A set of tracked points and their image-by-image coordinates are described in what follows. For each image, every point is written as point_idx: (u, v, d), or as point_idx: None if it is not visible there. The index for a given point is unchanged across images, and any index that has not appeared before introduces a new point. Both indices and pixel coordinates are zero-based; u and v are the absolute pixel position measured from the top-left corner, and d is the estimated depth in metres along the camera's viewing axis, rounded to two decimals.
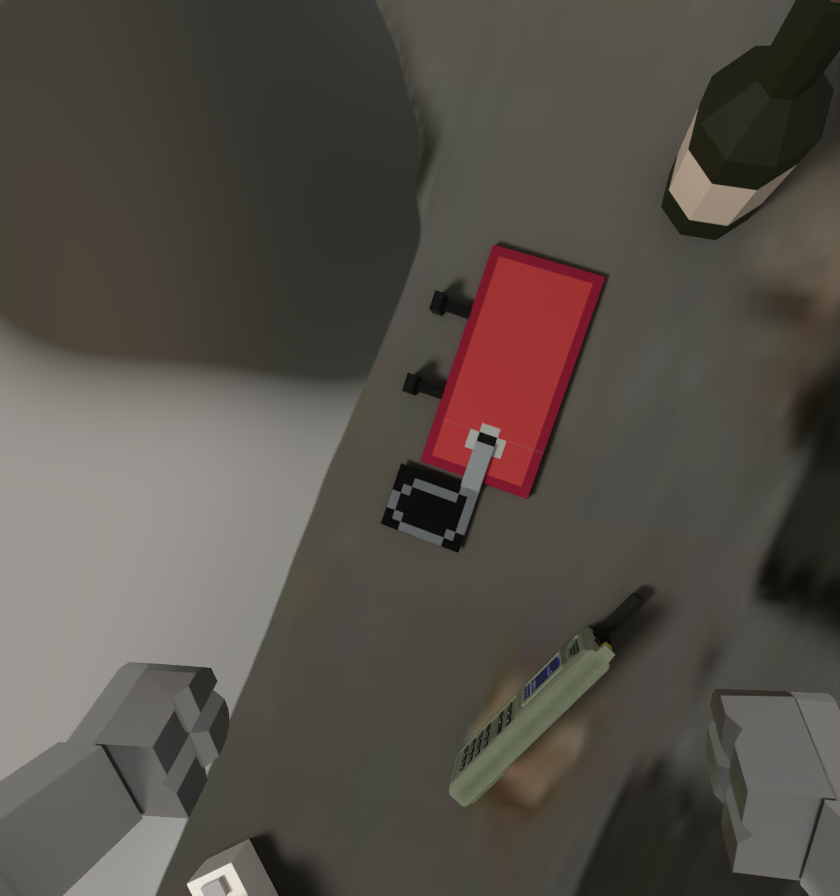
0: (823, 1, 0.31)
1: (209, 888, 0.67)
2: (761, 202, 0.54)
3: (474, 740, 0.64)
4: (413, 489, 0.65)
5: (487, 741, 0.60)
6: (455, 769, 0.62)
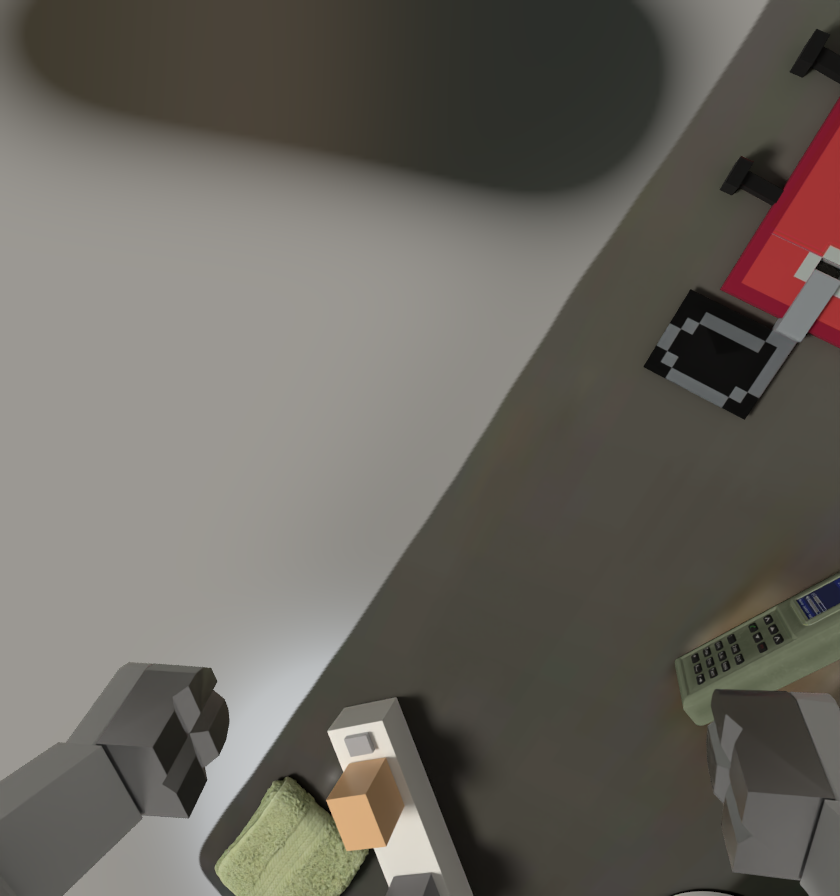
0: None
1: (354, 741, 0.60)
2: None
3: (708, 649, 0.52)
4: (700, 327, 0.48)
5: (741, 657, 0.48)
6: (684, 679, 0.51)
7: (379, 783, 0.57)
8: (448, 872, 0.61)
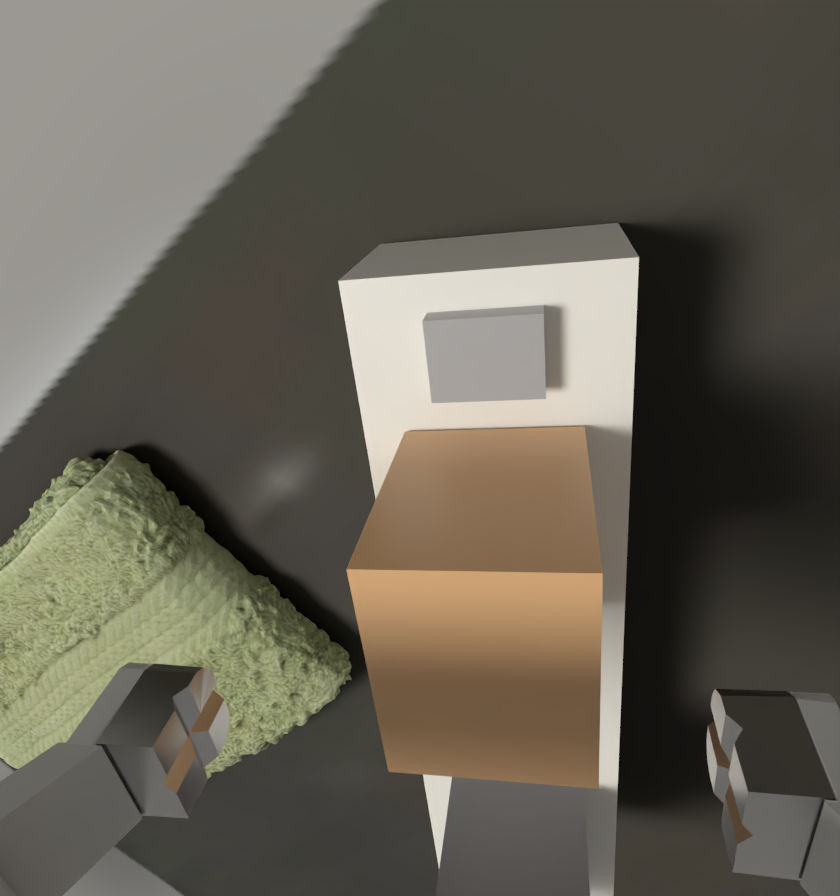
0: None
1: (473, 337, 0.13)
2: None
3: None
4: None
5: None
6: None
7: None
8: None
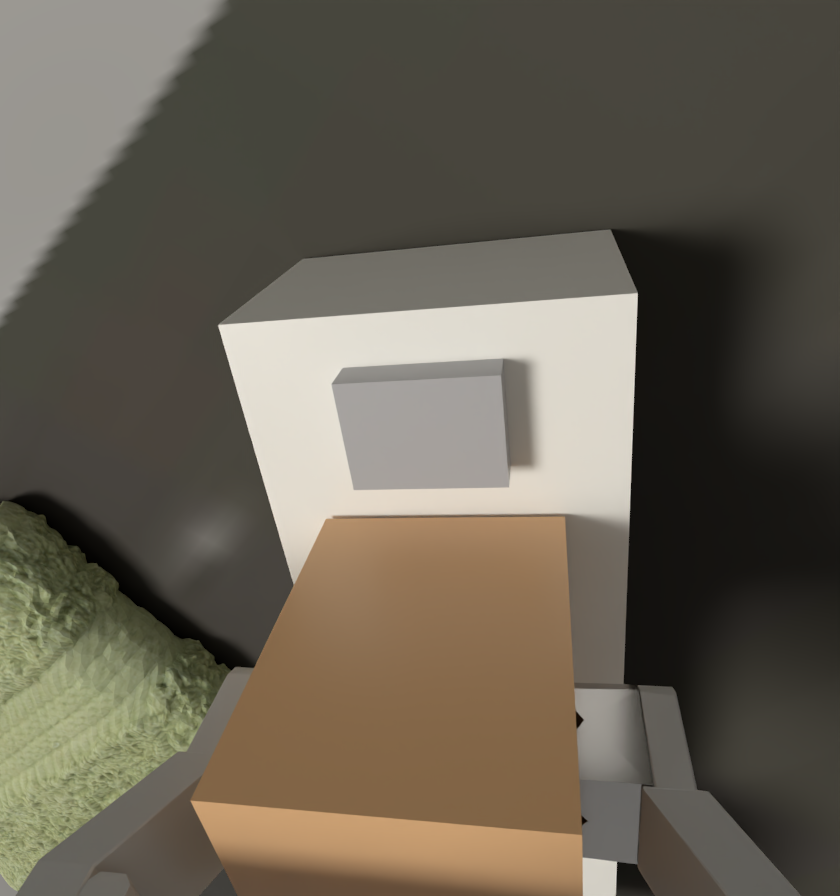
0: None
1: (403, 406, 0.09)
2: None
3: None
4: None
5: None
6: None
7: None
8: None
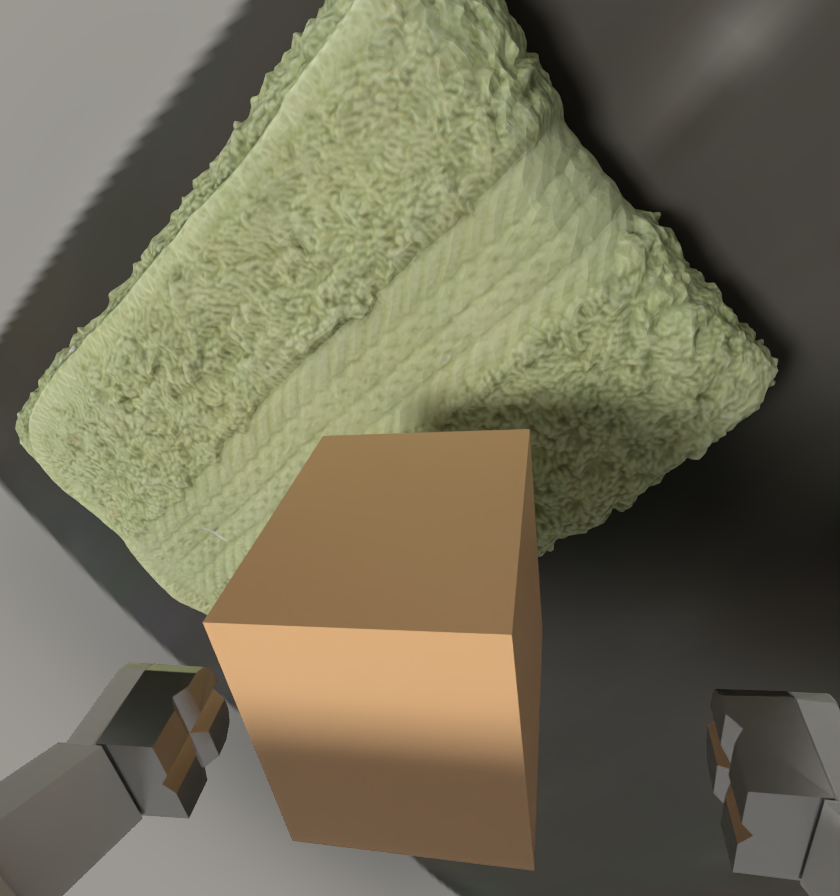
0: None
1: None
2: None
3: None
4: None
5: None
6: None
7: (526, 553, 0.10)
8: None
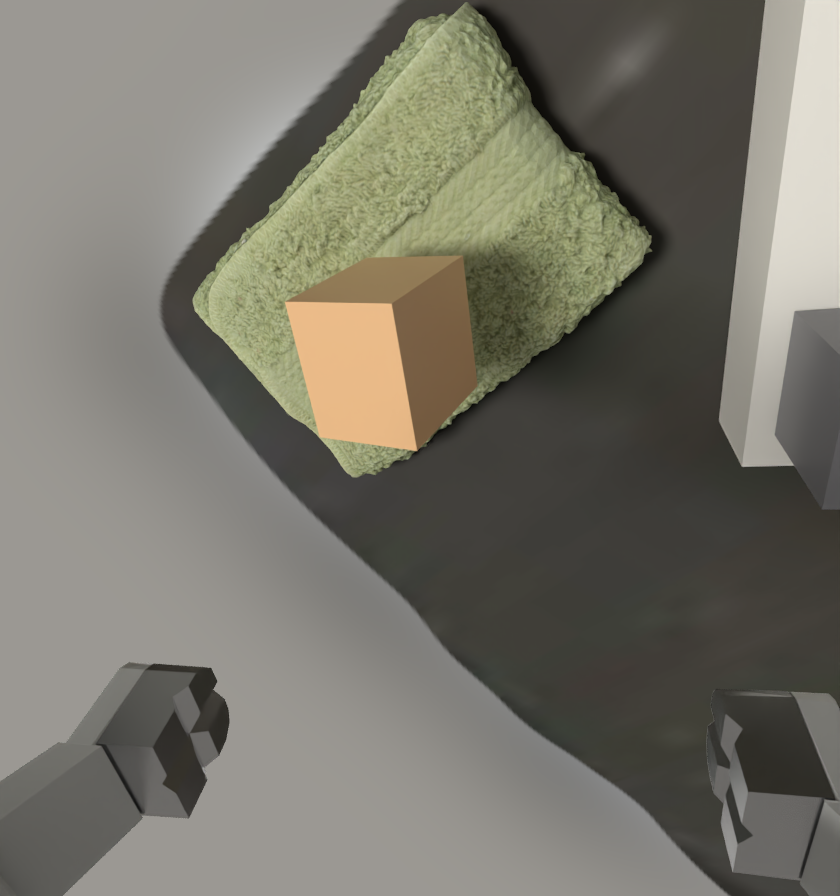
0: None
1: None
2: None
3: None
4: None
5: None
6: None
7: (434, 303, 0.21)
8: None
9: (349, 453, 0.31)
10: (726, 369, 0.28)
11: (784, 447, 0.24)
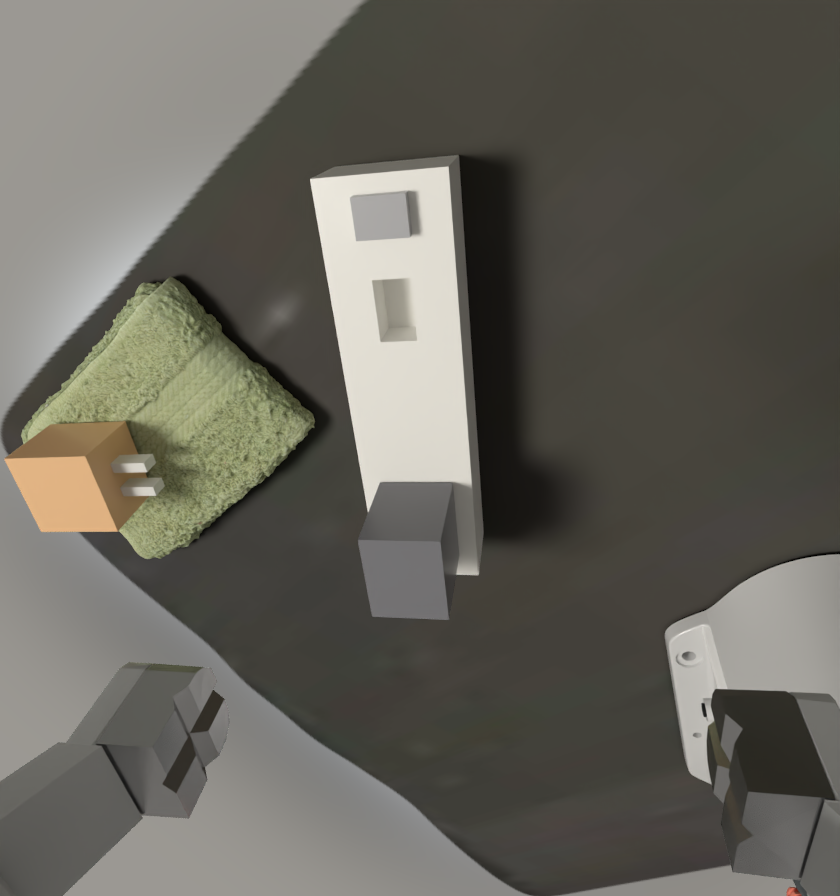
0: None
1: (373, 205, 0.27)
2: None
3: None
4: None
5: None
6: None
7: (50, 470, 0.35)
8: (474, 487, 0.36)
9: (139, 543, 0.44)
10: None
11: None
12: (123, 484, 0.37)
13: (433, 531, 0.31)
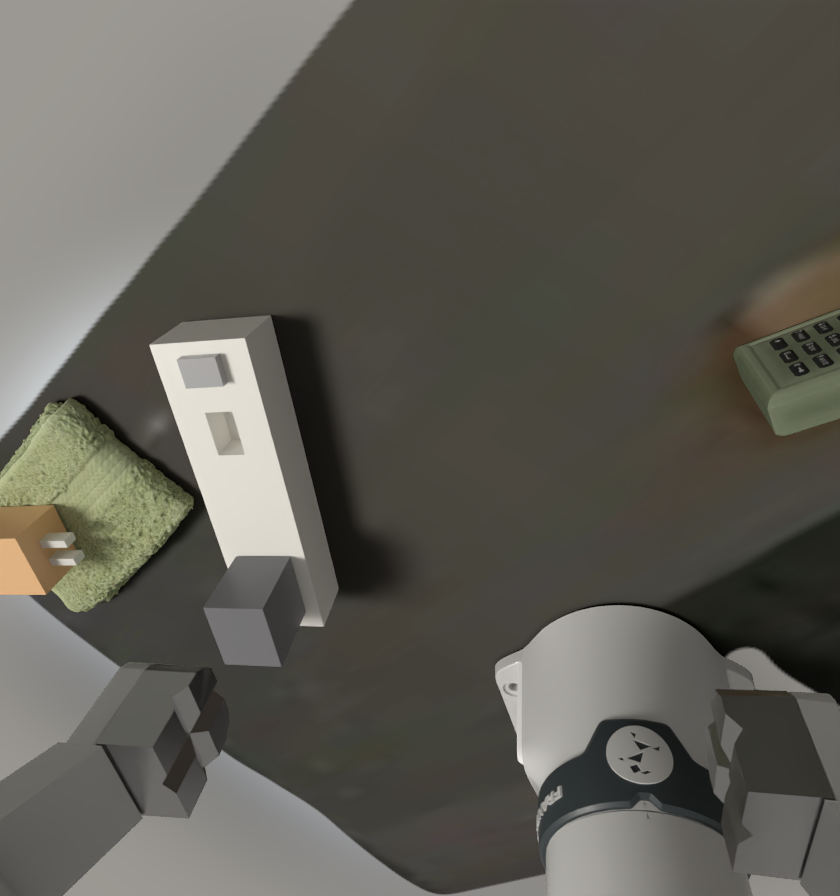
0: None
1: (194, 365, 0.37)
2: None
3: (803, 333, 0.33)
4: None
5: None
6: (764, 370, 0.32)
7: None
8: (313, 558, 0.45)
9: (68, 600, 0.53)
10: None
11: None
12: (51, 555, 0.47)
13: (260, 600, 0.40)
